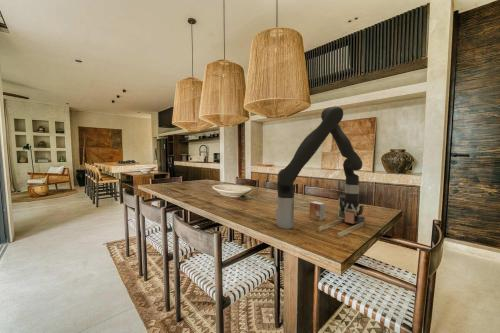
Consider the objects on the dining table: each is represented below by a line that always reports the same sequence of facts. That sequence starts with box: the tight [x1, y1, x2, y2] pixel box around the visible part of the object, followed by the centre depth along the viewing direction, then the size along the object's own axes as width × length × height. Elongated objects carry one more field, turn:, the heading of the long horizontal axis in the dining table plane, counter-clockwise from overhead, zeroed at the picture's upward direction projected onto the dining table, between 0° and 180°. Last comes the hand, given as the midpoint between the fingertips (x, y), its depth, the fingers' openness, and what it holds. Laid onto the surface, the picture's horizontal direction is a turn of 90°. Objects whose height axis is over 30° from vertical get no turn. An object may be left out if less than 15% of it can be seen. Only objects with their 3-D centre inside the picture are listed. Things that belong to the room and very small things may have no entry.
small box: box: [308, 200, 326, 221], centre depth 136 cm, size 8×6×10 cm
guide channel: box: [317, 215, 366, 239], centre depth 119 cm, size 12×30×5 cm, turn 129°
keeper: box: [344, 210, 356, 225], centre depth 125 cm, size 5×5×6 cm
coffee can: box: [337, 194, 353, 219], centre depth 138 cm, size 10×10×14 cm
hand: (350, 220), depth 125 cm, fingers closed on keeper, 5 cm apart
